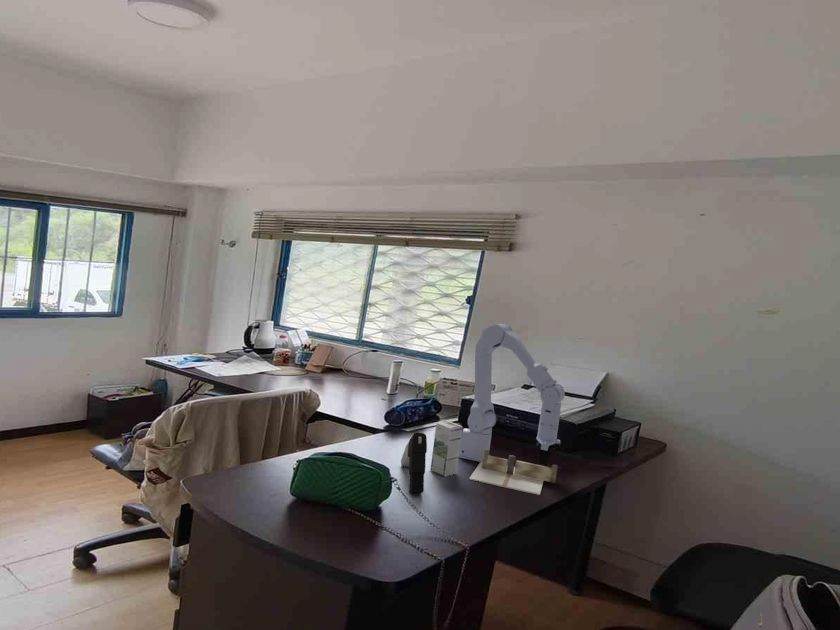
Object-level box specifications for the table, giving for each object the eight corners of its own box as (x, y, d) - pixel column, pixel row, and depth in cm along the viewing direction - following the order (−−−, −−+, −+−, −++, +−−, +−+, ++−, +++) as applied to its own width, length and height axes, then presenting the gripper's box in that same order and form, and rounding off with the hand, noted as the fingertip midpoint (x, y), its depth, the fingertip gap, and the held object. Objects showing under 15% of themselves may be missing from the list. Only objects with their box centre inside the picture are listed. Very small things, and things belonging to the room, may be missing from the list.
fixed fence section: (481, 468, 175) (483, 451, 175) (482, 466, 177) (484, 449, 176) (512, 475, 172) (515, 457, 172) (513, 473, 174) (516, 456, 174)
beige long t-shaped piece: (513, 474, 172) (516, 458, 172) (514, 472, 174) (516, 456, 174) (555, 483, 169) (557, 466, 169) (555, 481, 170) (557, 465, 170)
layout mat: (469, 479, 165) (469, 477, 165) (481, 461, 184) (482, 459, 184) (539, 495, 159) (540, 493, 159) (545, 474, 178) (545, 473, 178)
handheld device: (410, 490, 145) (413, 431, 151) (397, 501, 165) (400, 449, 171) (425, 491, 146) (427, 432, 152) (410, 502, 165) (413, 450, 172)
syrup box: (457, 474, 168) (463, 425, 167) (444, 477, 164) (450, 427, 163) (442, 467, 172) (448, 420, 171) (429, 471, 168) (435, 422, 167)
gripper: (561, 431, 167) (554, 477, 167) (563, 421, 181) (557, 463, 181) (536, 426, 169) (530, 472, 169) (540, 417, 183) (534, 459, 183)
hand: (542, 467), depth 176 cm, fingers closed
